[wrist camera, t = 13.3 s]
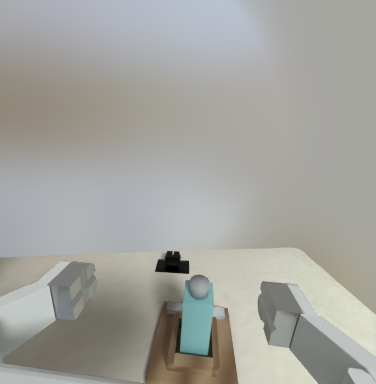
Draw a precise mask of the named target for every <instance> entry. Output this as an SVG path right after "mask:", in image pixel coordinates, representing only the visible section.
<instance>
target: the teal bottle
mask: <svg viewBox="0 0 376 384" xmlns="http://www.w3.org/2000/svg"><path fill="white" fill-rule="evenodd" d="M213 308H214V301H213V285H212V283H209V280H208V278H206V277H205V276H203V275H195V276H193V277H192V278H191V279H190V280H186V283H185V292H184V300H183V313H182V329H181V345H180V354H188V355H196V356H203V357H207V356H208V348H209V340H210V332H211V324H212V316H213Z"/></svg>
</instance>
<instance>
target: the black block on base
mask: <svg viewBox="0 0 376 384" xmlns="http://www.w3.org/2000/svg"><path fill="white" fill-rule="evenodd" d="M180 259H181V257H180V254H179V252H176V251H174V255H172V251H167V254H166V256H165V260H162V259H158V262H157V266H156V270H155V272H168V273H184V274H189V261H182V260H180Z"/></svg>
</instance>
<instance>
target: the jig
mask: <svg viewBox="0 0 376 384" xmlns="http://www.w3.org/2000/svg"><path fill="white" fill-rule="evenodd" d="M182 313H183V303H178V302H169V301H168V302H165V301H164V304H163V308H162V313H161V317H160V321H159V325H158V330H157V334H156V338H155V342H154V346H153V351H152V355H151V359H150V363H149V367H148V372H147V376H146V384H238V379H237V372H236V364H235V357H234V350H233V343H232V336H231V329H230V322H229V314H228V309H227V308H222V307H214V308H213V316H212V324H211V332H210V340H209V348H208V356H207V357H203V356H196V355H188V354H180V345H181V329H182Z"/></svg>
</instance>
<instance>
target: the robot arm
mask: <svg viewBox="0 0 376 384" xmlns="http://www.w3.org/2000/svg"><path fill="white" fill-rule="evenodd" d="M94 272H95V265H94V264H92V263H84V262H76V261H67V260H63V261H60V262H59V263H58V264H57V265H56V266H55V267H53V268H52V269H51V270H50V271H49V272H48V273H47V274H45V275H44V276H43V277H42V278H41V279H40V280H38V281H37V282H36V283H35V284H29V285H27V286H24V287H22V288H20V289H17V290H15V291H13V292H10V293H8V294H6V295H3V296H1V297H0V384H145V383H138V382H131V381H124V380H117V379H110V378H103V377H96V376H89V375H82V374H75V373H68V372H61V371H54V370H47V369H40V368H33V367H26V366H19V365H11V364H5V363H4V360H3V358H4V357H5V356H7V355H8V354H10V353H11V352H12V351H14V350H15V349H17V348H18V347H19V346H21V345H22V344H24V343H25V342H26V341H28V340H29V339H31V338H32V337H33V336H35V335H36V334H37V333H39V332H40V331H42V330H43V329H44V328H46V327H47V326H49V325H50V324H51V323H53V322H54V321H56V319H60V320H71V321H75V320H76V318H77V317H78V316H79V314H80V313H81V311H82V310H83V309H84V303H85V302H86V301H88V300H90V298H91V297H92V295H93V294H94V291H95V289H96V283H97V281H96V277H95V276H94V275H93V273H94ZM260 289H261V292H262V293H261V294H260V295H259V297H258V312H259V316H260V319H261V320H262V321H263V322H264V328H263V329H264V332H265V336H266V339H267V342H268V345H273V346H280V347H286V348H290V350H291V351H292V353H293V354H294V355H295V356H296V357H297V359H298V360H299V361H300V362H301V363H302V365H303V366H304V367H305V368H306V369H307V371H308V372H309V373H310V374H311V375H312V377H313V378H314V379H315V380H316V381H317V383H318V384H376V357H375V356H374V355H372V354H371V353H370V352H368V351H367V350H366V349H364V348H363V347H362V346H360V345H359V344H358V343H356V342H355V341H354V340H352V339H351V338H350V337H348V336H347V335H346V334H344V333H343V332H342V331H340V330H339V329H338V328H337V327H335V326H334V325H333V324H331V323H330V322H329V321H327V320H326V319H325V318H323V317H322V316H318V315H317V314H316V312H315V311H314V309H313V308H312V306H311V305H310V303H309V301H308V300H307V298H306V297H305V295H304V294H303V292H302V291H301V289H300V287H299V286H298V285H297V284H289V283H285V284H284V283H275V282H265V281H263V282H262V283H261V287H260Z"/></svg>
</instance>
